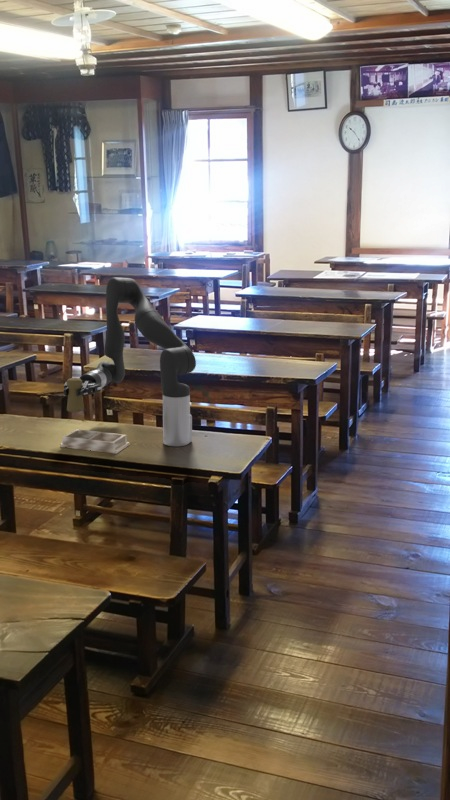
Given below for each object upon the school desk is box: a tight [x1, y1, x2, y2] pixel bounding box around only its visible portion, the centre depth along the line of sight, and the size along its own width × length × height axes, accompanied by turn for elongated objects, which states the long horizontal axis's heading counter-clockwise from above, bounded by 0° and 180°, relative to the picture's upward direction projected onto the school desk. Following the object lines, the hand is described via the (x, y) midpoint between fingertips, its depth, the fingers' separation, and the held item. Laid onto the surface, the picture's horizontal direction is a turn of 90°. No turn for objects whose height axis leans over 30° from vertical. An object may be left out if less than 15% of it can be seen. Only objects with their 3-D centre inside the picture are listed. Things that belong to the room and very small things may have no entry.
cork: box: [66, 377, 85, 413], centre depth 269 cm, size 6×6×11 cm
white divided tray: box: [59, 429, 130, 455], centre depth 267 cm, size 21×10×4 cm, turn 72°
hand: (71, 392), depth 267 cm, fingers closed on cork, 4 cm apart
